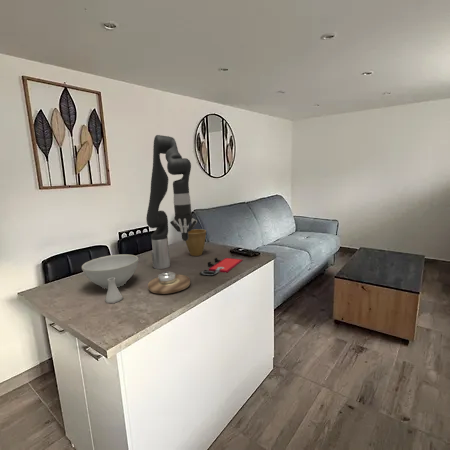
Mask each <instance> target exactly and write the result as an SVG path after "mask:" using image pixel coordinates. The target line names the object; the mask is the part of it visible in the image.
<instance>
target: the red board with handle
mask: <svg viewBox="0 0 450 450" xmlns="http://www.w3.org/2000/svg"><path fill="white" fill-rule="evenodd" d="M213 260H214V263H215V264H213V263H212V262H211V261H208V262H207V268H208V267H209V268H208V269H204V270H202V271H201V272H199V274H200V275H207V276H214V275H216V274H217V273H225V272H226V273H229V272H230V271H232V268H233V269H234V268H235V267H237V266H238V265H239V264H240V263H241V262H242V261H243V259H239V258H232V257H231V258H230V257H225V258H223V259H222V260H220V259H218V257H214V259H213ZM237 264H238V265H237ZM226 273H225V274H226Z"/></svg>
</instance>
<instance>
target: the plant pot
mask: <svg viewBox="0 0 450 450" xmlns="http://www.w3.org/2000/svg"><path fill="white" fill-rule="evenodd" d="M188 235H189V238H188V240H187V241H185V243H186V247H187V249H188V250H187V251H188V252H189V255H190V256H193V257H199V256H202V255H203V251H204V247H205V244H206V236H207V230H206V229H203V228H202V229H199V228H198V229H197V228H196V229H195V228H193V229H192V230H191V231H189V232H188Z"/></svg>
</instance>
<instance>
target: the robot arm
mask: <svg viewBox="0 0 450 450" xmlns="http://www.w3.org/2000/svg"><path fill="white" fill-rule="evenodd" d="M177 145H178V144H177V141H176V139H175V138H174V137H173V136H169V135H161V134H156V135H155V136H154V139H153V147H152V148H153V149H152V151H153V152H152V154H153V155H152V171H151V177H150V178H151V179H150V193H149V201H148V207H147V213H146V217H145V218H146V225H147V226H148V228H150V229H155V230H154V232H152V234H151V235H150V236H151V237H150V238H151V245H152V252H151V258H152V259H151V260H152V267H153V269H157V270H161V269H163V270H164V269H168V268H170V267H171V258H170V250H169V249H170V248H169V238H168V235H169V223H170V224H171V226H172V227H173V228H174V229H175V231H176V232H179V233H181V234H180V235H181V239H182V240H183V242H186V241H187V240H188V238H189V235H188V232H189V231H191V230H194V228H195V226H196V225H197V223H198V219H195V218H194V216H193V214H192V203H191V195H190V188H189V186H190V185H189V184H190V183H189V182H190V176H191V171H192V170H191V169H192V163H191V161H190V159H188V158H183V157H182V155H181V153H180V152H179V149H178V146H177ZM161 154H163V155H164V154H165V157H164V158H165V160H166V162H167V164H166V168H167V172H168V173H169V174H170V175H172V176H176V175H178V176H180V175H182V177H181V178H180V179H176V180H173V182H172V192H173V206H174V207H173V208H174V219H173V220H171V221H170V222H169V219H168V215H167V213H166V212H165V211H164V210H160V206H161V203H162V201H163V200H164V198H165V196H166V195H167V192H168V188H169V177H168V174H167V172H166V170H165V168H164V167H163V164H162V161H161ZM190 223H191V225H190Z"/></svg>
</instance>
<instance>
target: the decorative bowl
mask: <svg viewBox="0 0 450 450" xmlns="http://www.w3.org/2000/svg"><path fill="white" fill-rule="evenodd" d="M138 263H139V257H138V256H136V255H134V254H127V253H126V254H123V253H122V254H120V253H119V254H110V255H106V256H105V255H104V256H100V257H98V258H93V259H90V260H89V261H86V262H84V263H83V264H82V265H81V270H82V271H83V273H84V275H85V276H86V278H87V279H88V280H89V281H90V282H92V283H93V284H95V285H96V286H97V285H98V286H99V287H100V288H101V287H102V288H101V289H103V288H106V289H105V290H108V286H109V283H108V280H107V279H109V278H115V283H116V286H117V287H118V288H120V286H121V287H124V286H125V285H126V284H127V281H128V280H129V279H130V278H132V276H133V275H134V274H135V272H136V270H137V267H138V265H139V264H138ZM124 284H125V285H124Z"/></svg>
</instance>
